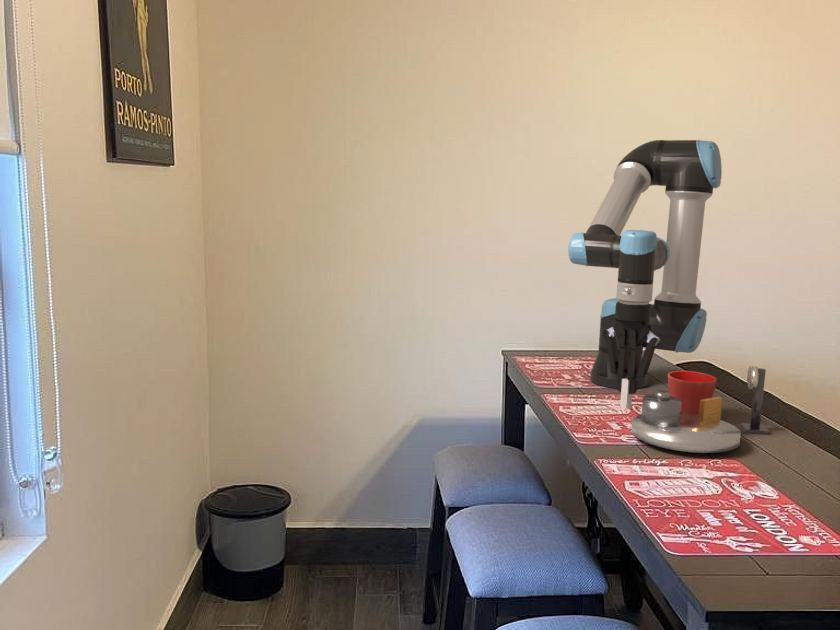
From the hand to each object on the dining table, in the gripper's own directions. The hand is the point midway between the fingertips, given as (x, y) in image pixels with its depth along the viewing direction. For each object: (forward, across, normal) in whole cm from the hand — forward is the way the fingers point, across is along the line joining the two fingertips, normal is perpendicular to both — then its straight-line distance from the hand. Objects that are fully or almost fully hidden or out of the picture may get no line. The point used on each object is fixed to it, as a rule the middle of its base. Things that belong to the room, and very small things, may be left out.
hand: (625, 406), depth 185 cm
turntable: (+4, +14, 0) cm, 14 cm away
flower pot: (+5, +7, +19) cm, 21 cm away
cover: (+2, +8, 0) cm, 9 cm away
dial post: (+5, +22, +19) cm, 30 cm away
